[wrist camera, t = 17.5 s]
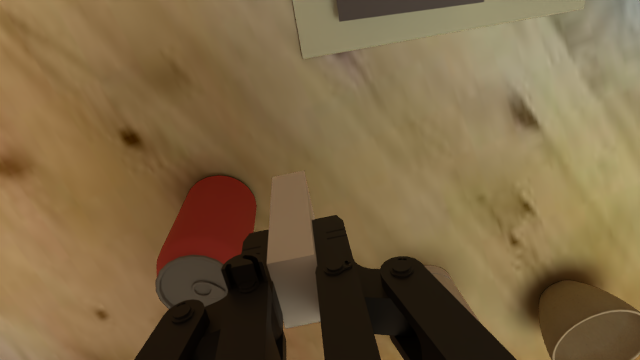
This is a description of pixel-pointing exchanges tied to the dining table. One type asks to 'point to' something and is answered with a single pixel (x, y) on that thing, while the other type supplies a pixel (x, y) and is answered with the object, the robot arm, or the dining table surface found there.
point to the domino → (390, 7)
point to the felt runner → (408, 22)
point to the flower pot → (587, 323)
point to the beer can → (204, 241)
